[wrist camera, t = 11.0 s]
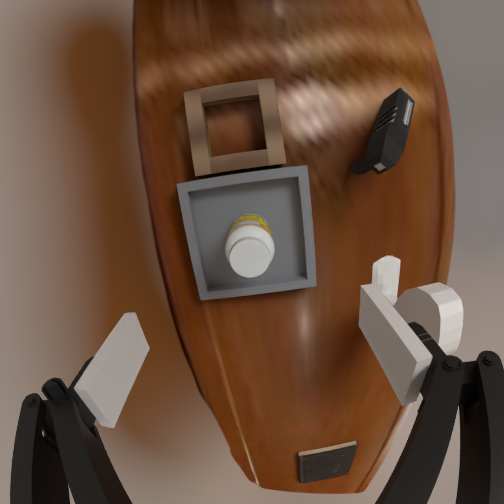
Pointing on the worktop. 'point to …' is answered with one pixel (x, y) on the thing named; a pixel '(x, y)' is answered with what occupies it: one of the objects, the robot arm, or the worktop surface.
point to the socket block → (228, 94)
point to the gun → (388, 134)
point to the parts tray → (250, 202)
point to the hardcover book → (326, 462)
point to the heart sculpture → (422, 304)
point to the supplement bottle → (249, 245)
